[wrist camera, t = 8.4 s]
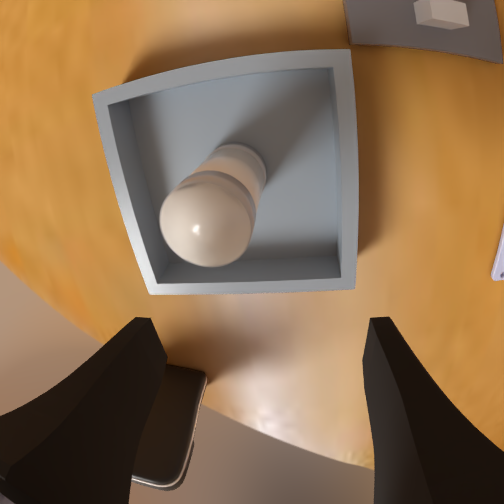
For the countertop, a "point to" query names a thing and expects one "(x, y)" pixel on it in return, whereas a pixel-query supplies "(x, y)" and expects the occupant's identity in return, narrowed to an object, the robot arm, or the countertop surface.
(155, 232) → the parts tray
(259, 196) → the cylinder
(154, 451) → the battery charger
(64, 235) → the countertop surface
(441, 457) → the robot arm
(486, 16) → the plate
